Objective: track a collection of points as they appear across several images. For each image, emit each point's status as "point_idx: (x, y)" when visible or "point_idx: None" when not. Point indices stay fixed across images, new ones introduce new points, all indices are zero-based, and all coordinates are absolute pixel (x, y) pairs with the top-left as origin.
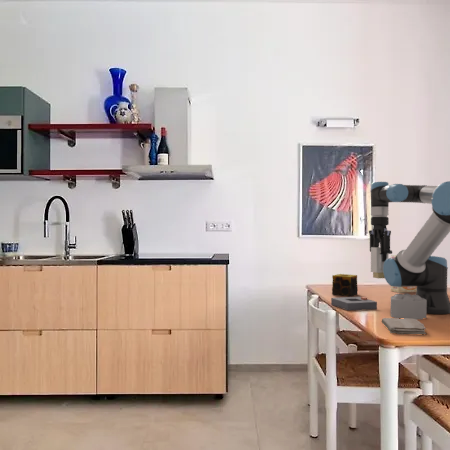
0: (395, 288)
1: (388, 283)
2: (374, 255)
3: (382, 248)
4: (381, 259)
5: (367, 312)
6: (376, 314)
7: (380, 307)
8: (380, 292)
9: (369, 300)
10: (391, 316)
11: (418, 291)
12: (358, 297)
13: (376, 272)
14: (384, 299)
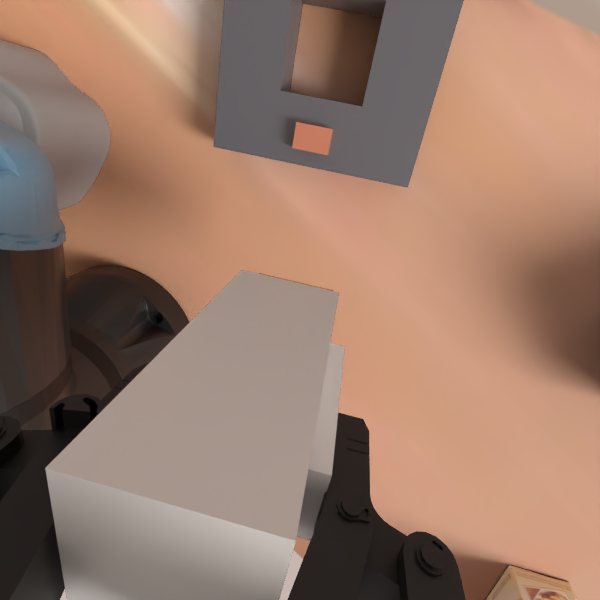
0: (538, 589)
1: (9, 126)
2: (210, 373)
3: (2, 506)
4: None
5: (163, 8)
6: (106, 19)
7: (257, 200)
8: (576, 525)
9: (268, 141)
10: (37, 50)
11: (72, 324)
12: (387, 159)
13: (242, 270)
14: (418, 390)
